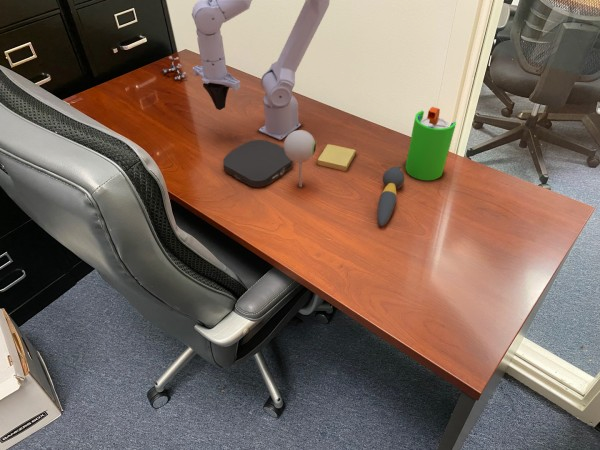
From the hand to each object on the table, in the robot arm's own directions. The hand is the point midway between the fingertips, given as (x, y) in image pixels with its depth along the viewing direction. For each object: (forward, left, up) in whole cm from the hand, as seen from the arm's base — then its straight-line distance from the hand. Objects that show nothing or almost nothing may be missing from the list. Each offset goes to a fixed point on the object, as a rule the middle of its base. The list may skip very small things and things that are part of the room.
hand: (220, 107), depth 114 cm
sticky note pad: (-10, +30, -9) cm, 33 cm away
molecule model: (-17, -40, -10) cm, 45 cm away
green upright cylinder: (-19, +50, -10) cm, 54 cm away
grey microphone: (-4, +49, -10) cm, 50 cm away
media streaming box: (+4, +16, -10) cm, 19 cm away
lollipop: (+4, +29, -10) cm, 31 cm away
